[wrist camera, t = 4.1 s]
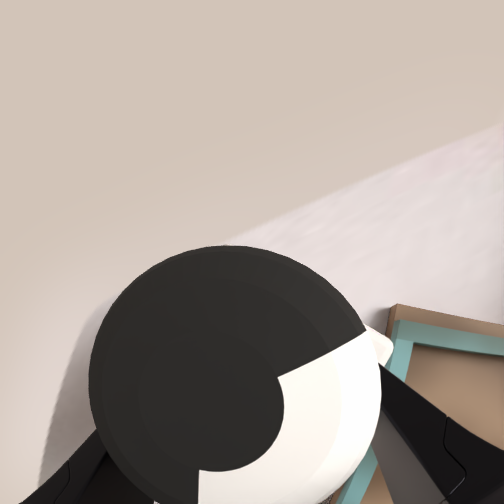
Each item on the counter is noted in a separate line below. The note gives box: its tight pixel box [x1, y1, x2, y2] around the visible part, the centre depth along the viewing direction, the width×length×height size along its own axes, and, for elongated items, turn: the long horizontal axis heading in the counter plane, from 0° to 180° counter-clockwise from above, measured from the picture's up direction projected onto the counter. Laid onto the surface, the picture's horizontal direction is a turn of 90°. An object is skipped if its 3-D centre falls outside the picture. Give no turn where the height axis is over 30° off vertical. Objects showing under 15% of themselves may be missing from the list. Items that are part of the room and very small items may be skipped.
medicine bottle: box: [89, 244, 394, 504], centre depth 10 cm, size 7×7×12 cm
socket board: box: [329, 304, 504, 504], centre depth 10 cm, size 20×16×2 cm
